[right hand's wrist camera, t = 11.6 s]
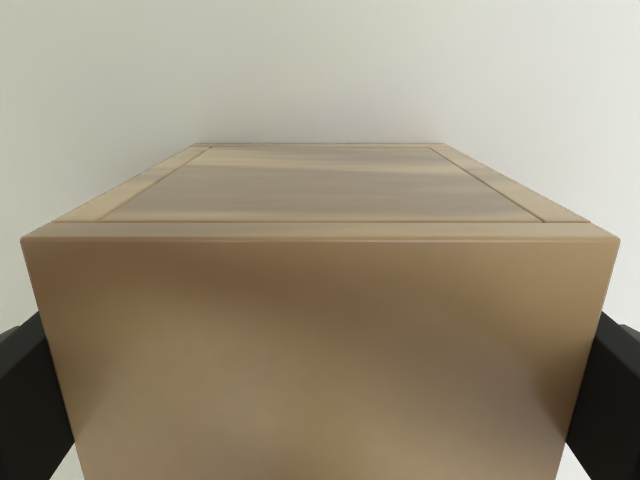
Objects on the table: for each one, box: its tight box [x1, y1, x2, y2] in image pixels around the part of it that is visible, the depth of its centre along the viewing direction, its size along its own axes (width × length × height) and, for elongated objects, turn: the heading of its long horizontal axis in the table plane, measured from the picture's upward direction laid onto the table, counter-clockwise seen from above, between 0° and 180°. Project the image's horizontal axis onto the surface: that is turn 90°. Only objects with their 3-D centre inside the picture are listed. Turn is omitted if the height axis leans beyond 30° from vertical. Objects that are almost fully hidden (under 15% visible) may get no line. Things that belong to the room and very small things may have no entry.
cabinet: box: [20, 144, 620, 480], centre depth 16 cm, size 17×11×11 cm, turn 0°
